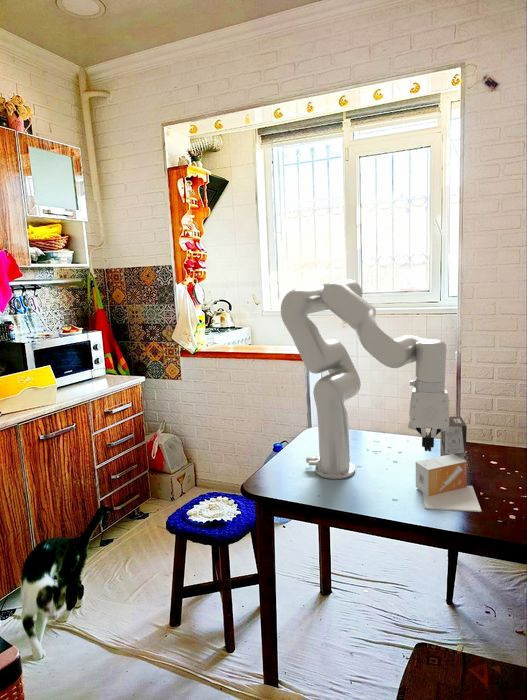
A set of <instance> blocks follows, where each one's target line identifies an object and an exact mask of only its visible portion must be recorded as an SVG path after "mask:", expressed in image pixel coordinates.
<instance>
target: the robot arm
mask: <svg viewBox="0 0 527 700" xmlns="http://www.w3.org/2000/svg"><path fill="white" fill-rule="evenodd" d="M324 311H330V312H332V313H333V314H335V316H337V317H338V318H340V319H341V321H343V322H344V323H345V324H347V325H348V326H349V327H350V328H352V330H354V331H355V333H356V336H357V338H358V341H360V344H361V345H362V347H363V348H364V349H365V351H366V352H367V353H369V354H370V356H372V357H373V358H374V359H375V360H377V361H378V362H379V363H380V364H382V365H384V366H385V367H387V368H390V369H399V368H402V367H404V366H406V365H407V364H408V365H409V364H412V363H415V379H414V380H409V386H410V387H411V386H412V387H413V389H412V391H411V395H410V401H409V402H410V403H409V412H408V413H409V414H408V416H409V417H408V418H409V421H408V424H407V428H408V429H409V430H414V431H416V432H417V433H418V434H419V435H420V436H421V448H422V447H423V448H424V451H425V452H432V448H434V447H435V446H434V445H435V438H436V436H438V435H439V434H440V432H441V431H448V430H449V417H450V397H449V392H448V389H447V390H446V389H445V388H446V367H447V366H446V364H447V363H446V362H447V343H446V342H445V341H444V340H441V339H437V338H424V337H423V338H421V337H419V336H415V335H410V334H406V335H405V334H404V335H403V336H400V337H396V338H394V339H393V338H392V337H391V336H390V335H388V334H386V333H385V331H383V330H382V329H381V328H380V327H379V325H378V324H377V322H376V315H377V309H376V307H375V306H373V305H372V304H371V303H369V302H368V301H367V300H365V299H364V298H363V289H362V287H361V285H360V284H359V283H357V281H355V280H354V279H353V280H352V279H342V280H333V281H330V282H328V283H322V284H321V283H320V284H316V285H314V284H313V285H310V286H309V285H308V286H302V287H297V288H294V289H292V290H290V291H288V292H287V293H286V294H285V295H284V297H283V298H282V301H281V305H280V317H281V319H282V320H281V321H282V322H283V324H284V326H285V327H286V329H287V331H288V334H289V335H290V336H291V338H292V341H293V342H294V345H295V347H296V349H297V351H298V354H299V356H300V358H301V360H302V362H303V364H304V366H305V368H306V370H307V371H308V372H309V373H311V374H314V375H315V374H321V373H322V374H323V373H324V372H327V371H328V373H329V374H326V375H324V376H322V377H320V378H319V379H318V380H317V381H316V383H315V384H314V387H313V391H312V392H313V393H312V394H313V398H314V402H315V406H316V407H315V408H316V413H317V415H316V416H317V427H318V428H317V431H318V452H319V455H317V456H316V457H315V456H306V457H305V458H306V459H305V461H306V464H308V466H315V468H314V469H315V470H314V471H315V473H316V475H318V476H320V477H322V478H323V479H324V478H325V479H329V480H341V479H346V478H348V477H351V476H353V475H354V474H355V473H356V466H355V465H354V464H353V463H352V462H351V459H350V457H351V456H350V434H349V433H350V432H349V431H350V430H349V427H350V426H349V415H348V411H347V408H346V407H345V402H346V401H348V400H349V399H351V398H353V397H355V396H356V395H357V394H358V393H359V392H360V391H361V386H362V385H361V378H360V375H359V373H358V371H357V369H356V367H355V365H354V363H353V360H352V359H351V357H350V356H351V355H349V352H348V350H347V349H346V347H345V346H344V344H342V343H341V342H340V341H339V340H337V339H334V338H327V339H324V338H323V337H322V335H321V333H320V331H319V329H318V327H317V325H316V324H315V323H314V322H313V321H312V320H311V318H309V317H308V315H309V314H314V313H318V312H324ZM426 429H430V431H429V432H427V430H426Z"/></svg>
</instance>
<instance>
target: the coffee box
mask: <svg viewBox="0 0 527 700" xmlns="http://www.w3.org/2000/svg"><path fill="white" fill-rule="evenodd" d="M467 428H468V426H467V424H466V422H465V421H464V419H463V418H462V416H449V430H448V431H441V432H440V433H439V434H440V441H439V445H440V448H439V449H440V451H439V452H440V456H445V455H449V454H454V455H456V456H458V457H460V458H462V459H463V460H465V461H467V432H468V431H467Z"/></svg>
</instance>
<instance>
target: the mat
mask: <svg viewBox="0 0 527 700" xmlns="http://www.w3.org/2000/svg"><path fill="white" fill-rule="evenodd" d="M422 495H423V496H422V497H423V503H424V504H423V505H424V508H425V510H439V511H458V512H459V511H460V512H471V513H472V512H474V513H475V512H476V513H477V512H478V513H482V509H481V506H480V503H479V500H478V498H477V495H476V492H475V489H474V487H473V485H467V487H465V488H461V489H456V490H452V491H448V492H444V493H439V494H435V495H431V496H428V495H426V494H425V493H423V492H422Z"/></svg>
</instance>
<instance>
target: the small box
mask: <svg viewBox="0 0 527 700" xmlns="http://www.w3.org/2000/svg"><path fill="white" fill-rule="evenodd" d="M467 486H468V461H467V460H466V461H465V460H463V459H462V458H460V457H458V456H456V455H454V454H449V455H445V456H441V455H440V456H435V457H431V458H427V459H422V460H418V461H415V488H416V489H418V490H419V491H421V492H422V494H423V493H425V494H426V495H428V496H431V495H435V494H439V493H444V492H448V491H452V490H456V489H461V488H465V487H467Z"/></svg>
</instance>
